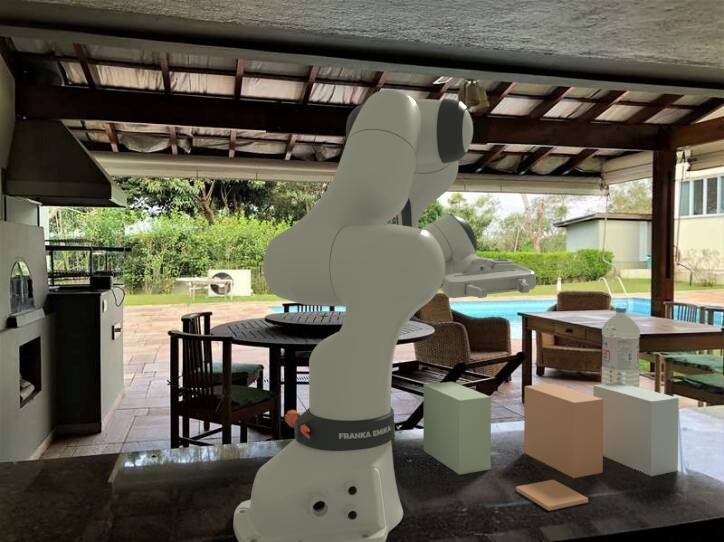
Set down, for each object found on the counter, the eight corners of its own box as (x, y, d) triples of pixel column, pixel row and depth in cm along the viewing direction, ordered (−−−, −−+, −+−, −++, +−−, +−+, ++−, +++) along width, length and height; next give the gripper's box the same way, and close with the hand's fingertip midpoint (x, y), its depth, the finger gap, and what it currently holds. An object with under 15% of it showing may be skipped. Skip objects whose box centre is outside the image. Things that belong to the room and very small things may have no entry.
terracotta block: (573, 478, 85) (574, 402, 85) (524, 453, 96) (524, 386, 96) (602, 472, 87) (603, 399, 87) (550, 448, 98) (551, 383, 98)
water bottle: (635, 440, 103) (636, 309, 102) (597, 433, 107) (598, 307, 106) (642, 431, 108) (643, 307, 108) (605, 425, 112) (606, 305, 112)
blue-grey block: (651, 476, 86) (651, 401, 86) (592, 451, 97) (593, 385, 97) (677, 470, 88) (678, 397, 88) (617, 447, 99) (618, 382, 99)
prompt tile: (548, 510, 74) (548, 506, 74) (516, 490, 80) (516, 486, 80) (588, 502, 76) (588, 498, 76) (553, 483, 83) (553, 479, 83)
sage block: (459, 474, 87) (459, 400, 86) (423, 450, 98) (423, 384, 97) (490, 469, 89) (490, 396, 89) (452, 446, 100) (452, 381, 100)
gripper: (432, 267, 119) (456, 281, 106) (516, 258, 123) (550, 271, 110) (432, 294, 120) (457, 312, 107) (516, 285, 125) (549, 301, 112)
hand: (505, 291), depth 109 cm, fingers open, 8 cm apart
